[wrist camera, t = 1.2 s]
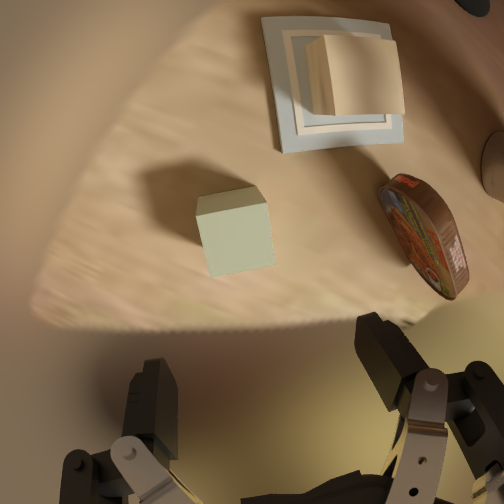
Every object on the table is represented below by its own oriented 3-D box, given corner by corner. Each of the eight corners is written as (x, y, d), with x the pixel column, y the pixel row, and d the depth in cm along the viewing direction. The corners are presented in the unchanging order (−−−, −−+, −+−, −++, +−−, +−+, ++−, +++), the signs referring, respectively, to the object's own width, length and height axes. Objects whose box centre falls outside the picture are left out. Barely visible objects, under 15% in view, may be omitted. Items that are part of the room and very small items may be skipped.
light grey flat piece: (385, 25, 19) (390, 23, 18) (400, 141, 24) (404, 143, 24) (260, 19, 18) (262, 16, 18) (281, 152, 24) (283, 154, 23)
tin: (364, 178, 26) (418, 207, 18) (387, 159, 25) (446, 182, 18) (416, 276, 32) (456, 316, 25) (433, 260, 32) (476, 297, 24)
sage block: (256, 185, 25) (267, 202, 20) (263, 238, 27) (275, 264, 23) (197, 196, 25) (195, 216, 20) (209, 249, 27) (210, 277, 22)
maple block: (367, 49, 20) (395, 41, 16) (375, 111, 22) (404, 114, 18) (303, 47, 19) (323, 34, 15) (313, 114, 22) (335, 115, 18)
